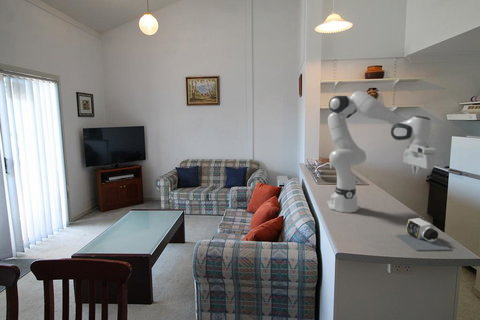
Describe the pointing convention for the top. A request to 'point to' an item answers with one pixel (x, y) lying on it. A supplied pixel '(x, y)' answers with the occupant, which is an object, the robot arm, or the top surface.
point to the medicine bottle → (421, 230)
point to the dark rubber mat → (422, 243)
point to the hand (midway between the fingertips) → (416, 174)
